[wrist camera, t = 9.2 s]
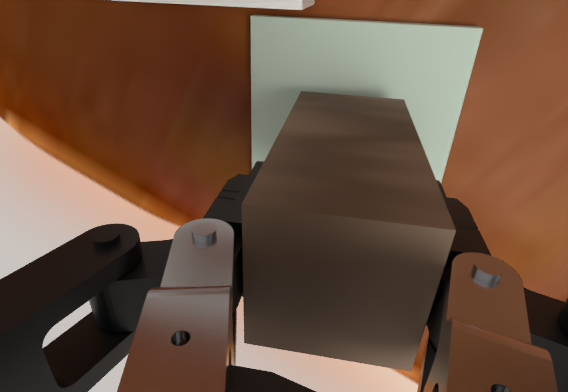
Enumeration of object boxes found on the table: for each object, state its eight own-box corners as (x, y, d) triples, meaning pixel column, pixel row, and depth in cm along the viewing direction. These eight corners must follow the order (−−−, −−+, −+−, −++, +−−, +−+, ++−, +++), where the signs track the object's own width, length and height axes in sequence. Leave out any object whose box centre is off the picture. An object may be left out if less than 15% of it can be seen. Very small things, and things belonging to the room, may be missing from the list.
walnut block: (403, 99, 15) (455, 230, 7) (385, 190, 17) (410, 371, 9) (301, 91, 15) (241, 204, 7) (295, 180, 17) (244, 343, 9)
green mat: (477, 26, 15) (483, 28, 14) (426, 217, 19) (429, 226, 19) (255, 14, 16) (250, 15, 15) (255, 197, 21) (252, 204, 20)
